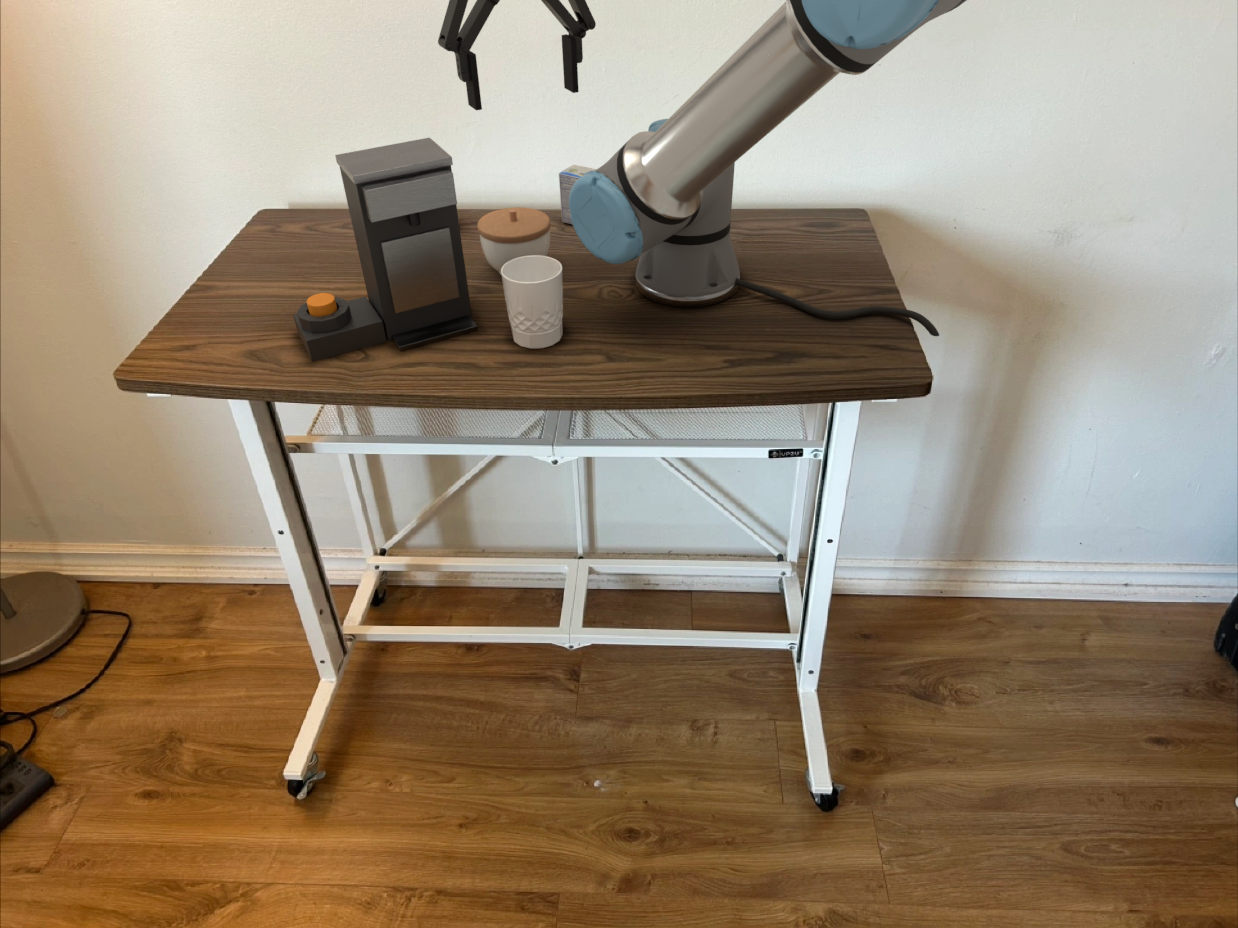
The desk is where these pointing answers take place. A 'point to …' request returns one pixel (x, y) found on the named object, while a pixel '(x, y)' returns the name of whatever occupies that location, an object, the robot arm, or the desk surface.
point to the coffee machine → (409, 240)
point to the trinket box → (513, 235)
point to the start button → (321, 304)
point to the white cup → (534, 300)
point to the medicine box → (569, 187)
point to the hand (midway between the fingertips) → (524, 98)
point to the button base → (339, 328)
